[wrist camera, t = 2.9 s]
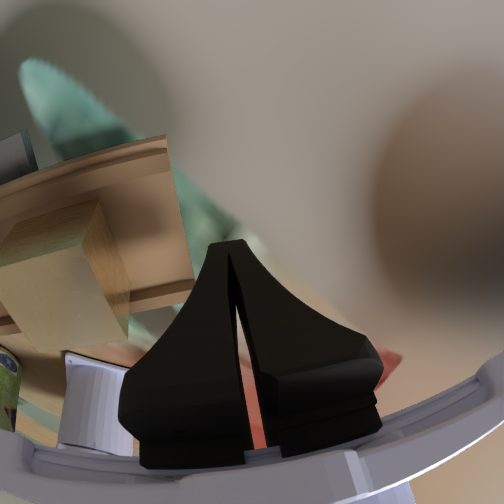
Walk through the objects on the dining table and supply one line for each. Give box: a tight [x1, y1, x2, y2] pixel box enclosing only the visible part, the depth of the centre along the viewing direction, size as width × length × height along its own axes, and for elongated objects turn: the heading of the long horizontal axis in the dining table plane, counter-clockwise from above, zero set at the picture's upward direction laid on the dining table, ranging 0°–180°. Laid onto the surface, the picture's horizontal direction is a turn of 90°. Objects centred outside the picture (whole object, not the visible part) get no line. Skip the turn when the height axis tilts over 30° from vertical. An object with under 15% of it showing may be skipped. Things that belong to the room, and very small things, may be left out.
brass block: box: [0, 197, 131, 353], centre depth 11 cm, size 5×5×4 cm
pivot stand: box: [0, 129, 38, 186], centre depth 14 cm, size 8×13×3 cm, turn 4°
